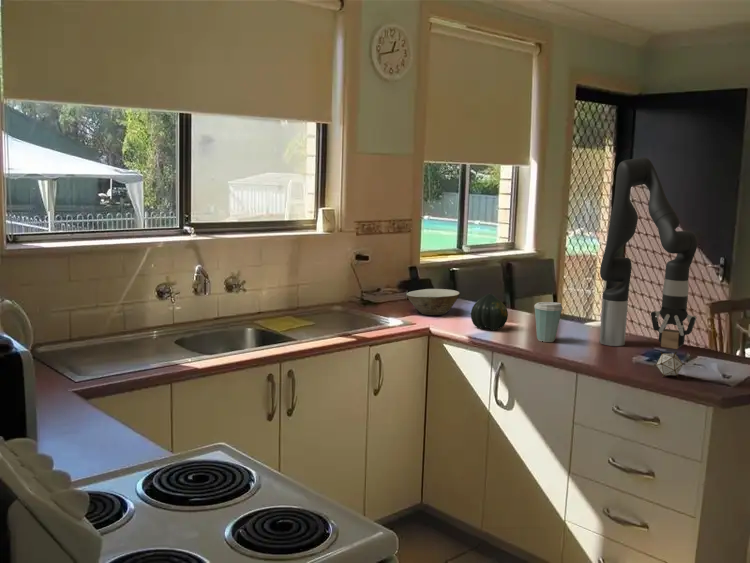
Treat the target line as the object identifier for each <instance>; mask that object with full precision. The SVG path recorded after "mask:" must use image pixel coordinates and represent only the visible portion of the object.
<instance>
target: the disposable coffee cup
mask: <svg viewBox="0 0 750 563" xmlns="http://www.w3.org/2000/svg"><path fill="white" fill-rule="evenodd" d="M563 310H564V309H563V306H562V303H561V302H556V301H555V302H554V301H553V302H552V301H551V302H550V301H541V302H536V303H535V304H534V315H535V327H536V329H535V330H536V338H537V340H538V341H539V342H542V341H543V342H542V343H553V342H554V341H555V340H556V336H557V332H558V328H559V324H560V319H561V314H562V311H563Z"/></svg>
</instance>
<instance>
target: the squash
mask: <svg viewBox="0 0 750 563" xmlns="http://www.w3.org/2000/svg"><path fill="white" fill-rule="evenodd" d="M508 317H509V312H508V309H507V306H506V305H505V304H504V302H502V301H501V300H500V299H499V298H498V297H497V296H495V294H493V293H492V292H490V293H487V294H485V295H484V296H482V297H480V298H479V299H478V300H477V301H475V303H474V304H473V306H472V308H471V310H470V318H471V322H472V324H473V325H474V327H475V328H478V329H485V328H487V329H489V330H491V331H496V330H499V329H502V328H503V327H505V325H506V323H507V322H508V319H509V318H508Z"/></svg>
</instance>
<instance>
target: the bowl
mask: <svg viewBox="0 0 750 563" xmlns="http://www.w3.org/2000/svg"><path fill="white" fill-rule="evenodd" d="M405 295H406V297H407V299H408V300H409V302H410V303H411V304H412V305H413V307H414V308H415V309H416V310H417V311H418V312H419V313H421V314H422V313H423V314H422V315H427V316H440V315H441V316H442V315H445V314H447V312H449V310H450V309H452V307H453V306H454V305H455V304H456V301H457V300H458V298H459V296H460V291H457V290H454V289H447V288H446V289H444V288H425V289H424V288H423V289H418V290H412V291H409V292H407V293H406V294H405Z"/></svg>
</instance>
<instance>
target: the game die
mask: <svg viewBox="0 0 750 563" xmlns="http://www.w3.org/2000/svg"><path fill="white" fill-rule="evenodd" d="M660 354H661V355H660V357H659V359H658V361H657V362H656V364H655V363H654V364H653V366H656V367H657V369H658V370H659V371H660V373H661V374H662V376H661V377H662V378H664V377H665V376H676V378H679V375H678V374H679V373H680V371H681V370H682V367H683V366H685V365H686V363H685V362H684V363H683V362H682V361H681V359H680V357H679V356H678V355H677V351H675V352H674V353H663V351H660Z"/></svg>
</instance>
